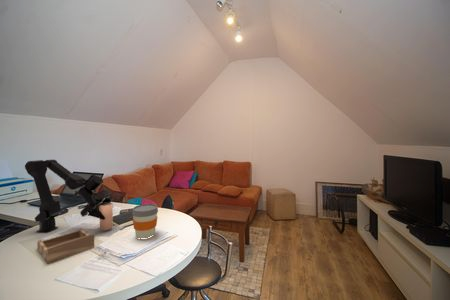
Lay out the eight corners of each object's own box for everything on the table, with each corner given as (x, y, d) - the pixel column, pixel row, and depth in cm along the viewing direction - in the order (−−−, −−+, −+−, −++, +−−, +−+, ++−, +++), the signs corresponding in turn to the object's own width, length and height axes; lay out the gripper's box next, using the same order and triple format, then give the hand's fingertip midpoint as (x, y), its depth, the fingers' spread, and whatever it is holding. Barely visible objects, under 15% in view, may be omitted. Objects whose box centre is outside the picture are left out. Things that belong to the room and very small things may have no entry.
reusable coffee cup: (163, 233, 106) (163, 205, 106) (144, 243, 95) (144, 213, 94) (146, 228, 112) (145, 202, 111) (126, 238, 100) (126, 209, 100)
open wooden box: (37, 251, 88) (37, 235, 87) (80, 237, 100) (79, 224, 100) (48, 266, 77) (47, 249, 77) (94, 249, 90) (94, 234, 89)
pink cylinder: (98, 231, 103) (99, 206, 102) (100, 226, 108) (100, 203, 108) (112, 229, 106) (112, 205, 105) (112, 224, 111) (113, 202, 110)
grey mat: (85, 236, 101) (85, 235, 101) (104, 226, 114) (104, 224, 114) (109, 238, 100) (109, 236, 100) (125, 227, 113) (125, 225, 113)
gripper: (85, 190, 97) (107, 213, 97) (110, 182, 116) (128, 201, 115) (70, 205, 98) (92, 228, 98) (97, 195, 116) (115, 214, 116)
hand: (108, 216), depth 107 cm, fingers closed on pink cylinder, 6 cm apart
